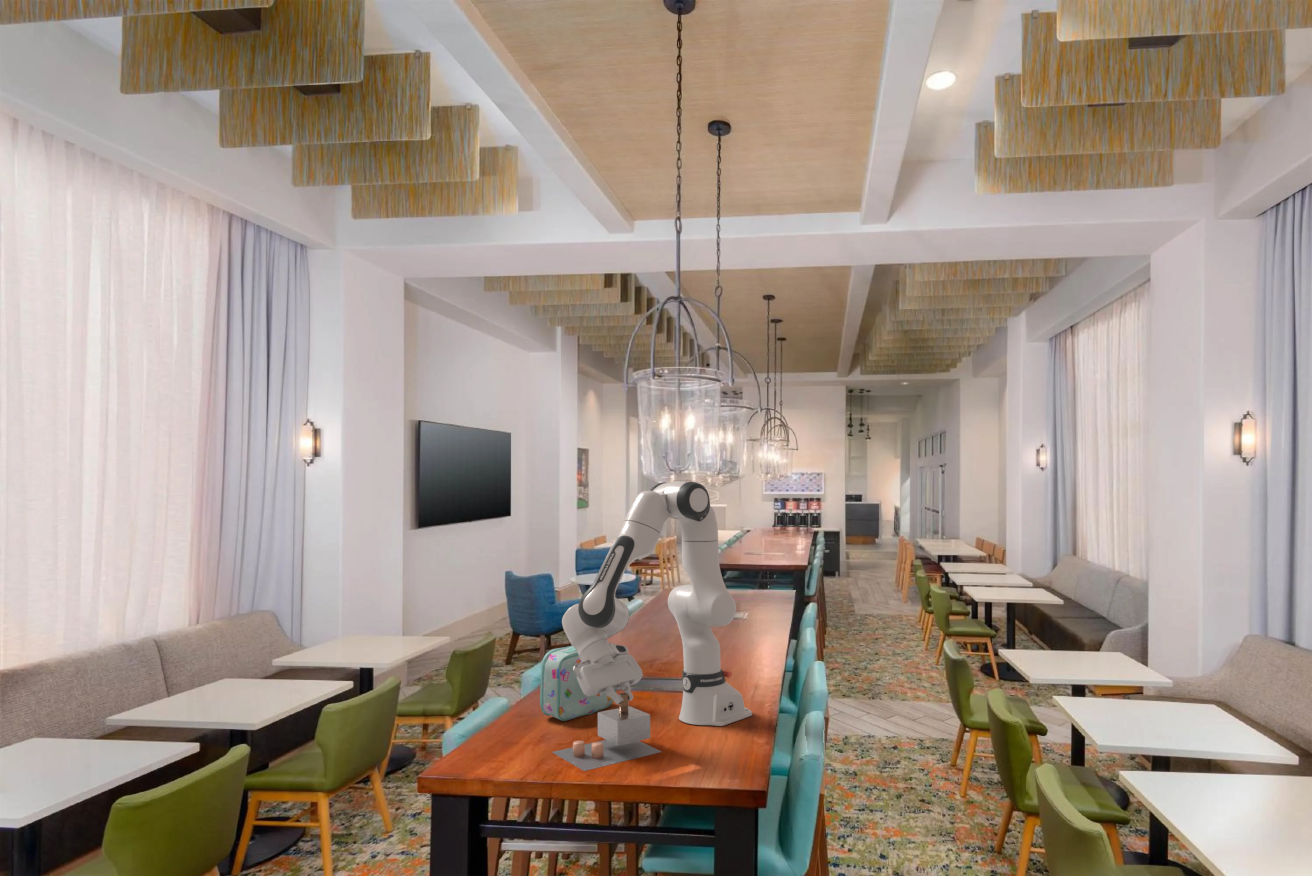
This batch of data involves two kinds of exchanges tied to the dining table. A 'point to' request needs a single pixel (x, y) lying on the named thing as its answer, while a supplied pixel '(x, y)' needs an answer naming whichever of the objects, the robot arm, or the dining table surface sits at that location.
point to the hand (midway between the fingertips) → (625, 701)
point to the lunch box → (566, 687)
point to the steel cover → (623, 724)
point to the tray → (608, 754)
